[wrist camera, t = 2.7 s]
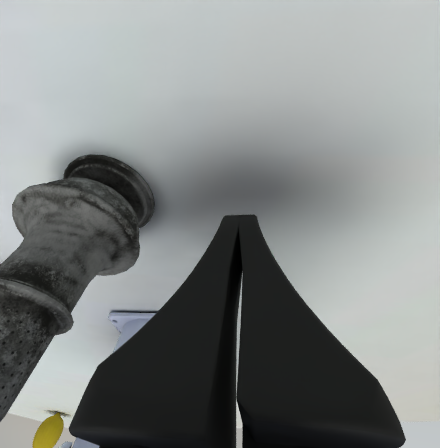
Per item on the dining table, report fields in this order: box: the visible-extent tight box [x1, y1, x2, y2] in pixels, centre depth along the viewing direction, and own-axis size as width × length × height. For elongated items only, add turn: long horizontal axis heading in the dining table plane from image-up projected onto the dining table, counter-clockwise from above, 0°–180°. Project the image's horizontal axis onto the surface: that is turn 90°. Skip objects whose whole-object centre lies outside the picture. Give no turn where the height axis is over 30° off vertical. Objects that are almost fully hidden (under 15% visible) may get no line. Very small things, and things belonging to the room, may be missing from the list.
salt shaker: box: [0, 155, 154, 421], centre depth 10 cm, size 6×6×12 cm
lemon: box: [33, 413, 64, 448], centre depth 58 cm, size 6×6×8 cm
